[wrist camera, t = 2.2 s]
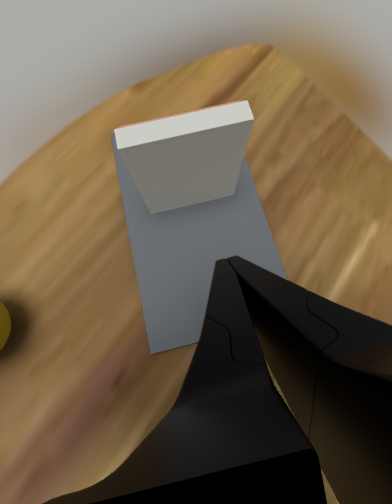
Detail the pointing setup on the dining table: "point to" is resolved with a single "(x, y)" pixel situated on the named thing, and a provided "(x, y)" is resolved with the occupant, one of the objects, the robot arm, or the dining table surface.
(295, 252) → the dining table surface
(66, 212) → the dining table surface
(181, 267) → the mat
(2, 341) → the lemon
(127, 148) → the tile
